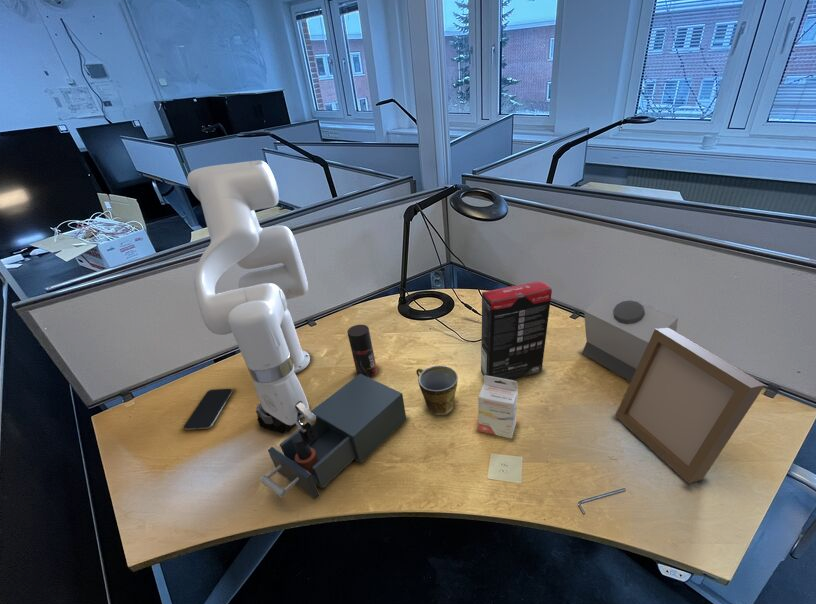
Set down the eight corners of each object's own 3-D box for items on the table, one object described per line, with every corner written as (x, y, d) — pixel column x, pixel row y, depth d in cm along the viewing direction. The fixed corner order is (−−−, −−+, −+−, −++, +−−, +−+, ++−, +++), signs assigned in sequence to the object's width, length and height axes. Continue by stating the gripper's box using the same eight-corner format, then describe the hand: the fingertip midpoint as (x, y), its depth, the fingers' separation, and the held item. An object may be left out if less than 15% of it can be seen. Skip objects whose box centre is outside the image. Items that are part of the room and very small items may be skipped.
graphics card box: (533, 359, 123) (539, 277, 108) (544, 373, 118) (553, 288, 102) (480, 373, 119) (479, 289, 104) (489, 388, 114) (490, 302, 98)
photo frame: (687, 486, 85) (728, 397, 71) (614, 418, 102) (634, 335, 88) (738, 461, 90) (785, 372, 75) (659, 400, 106) (686, 318, 92)
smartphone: (182, 428, 107) (208, 389, 119) (183, 430, 107) (209, 391, 119) (209, 427, 107) (233, 388, 119) (211, 428, 107) (234, 390, 119)
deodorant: (373, 379, 120) (364, 337, 111) (354, 377, 121) (343, 335, 112) (379, 366, 125) (371, 325, 116) (361, 365, 126) (352, 323, 117)
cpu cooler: (306, 394, 107) (280, 421, 100) (312, 410, 111) (287, 437, 103) (275, 386, 111) (247, 412, 103) (281, 402, 114) (255, 427, 106)
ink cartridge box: (477, 432, 101) (476, 387, 92) (482, 418, 105) (482, 373, 96) (512, 439, 98) (514, 393, 90) (516, 425, 102) (518, 379, 94)
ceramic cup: (467, 404, 109) (465, 375, 103) (441, 426, 103) (438, 396, 97) (432, 384, 117) (429, 356, 111) (406, 403, 111) (402, 374, 105)
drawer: (296, 517, 84) (286, 496, 79) (258, 486, 90) (247, 465, 86) (367, 451, 97) (361, 429, 93) (329, 428, 103) (322, 407, 99)
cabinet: (360, 463, 95) (353, 436, 90) (319, 437, 102) (310, 411, 97) (406, 419, 106) (402, 393, 101) (366, 399, 113) (360, 373, 108)
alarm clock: (671, 369, 116) (692, 307, 104) (636, 392, 109) (654, 328, 98) (610, 337, 130) (623, 279, 119) (576, 356, 123) (586, 296, 112)
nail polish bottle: (296, 470, 92) (283, 440, 86) (311, 457, 95) (300, 427, 89) (308, 479, 90) (296, 449, 84) (324, 465, 93) (313, 435, 87)
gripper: (226, 362, 77) (256, 426, 87) (282, 394, 69) (308, 461, 78) (261, 342, 82) (285, 405, 92) (317, 370, 74) (338, 436, 83)
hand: (296, 431), depth 85 cm, fingers open, 9 cm apart
